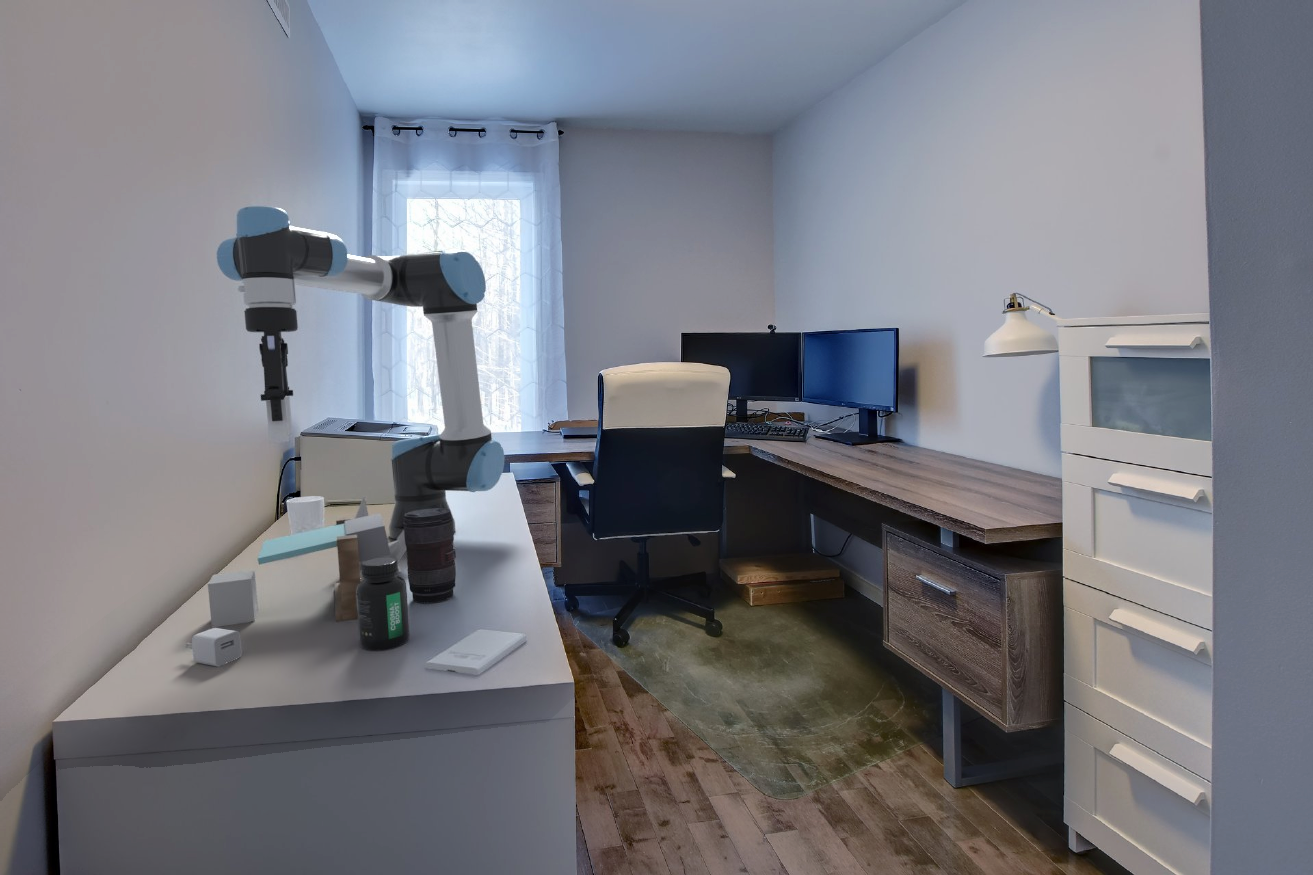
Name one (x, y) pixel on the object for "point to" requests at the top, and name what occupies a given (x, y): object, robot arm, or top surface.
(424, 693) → the top surface
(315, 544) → the trapdoor
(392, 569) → the supplement bottle
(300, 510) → the white cup
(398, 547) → the crystal
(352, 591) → the stand
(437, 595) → the camera lens
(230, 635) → the usb wall charger
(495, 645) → the external hard drive
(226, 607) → the plain grey cube
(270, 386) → the robot arm
